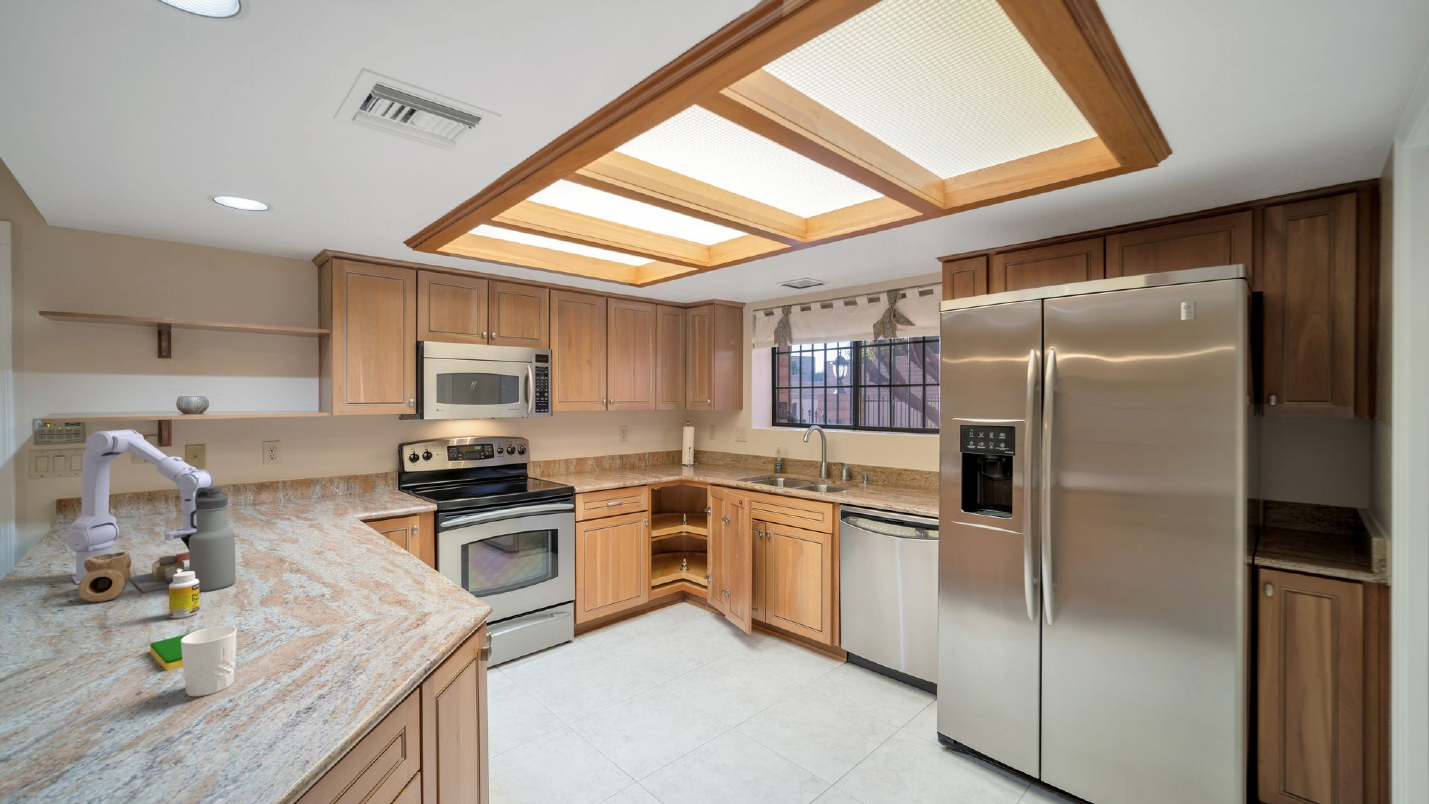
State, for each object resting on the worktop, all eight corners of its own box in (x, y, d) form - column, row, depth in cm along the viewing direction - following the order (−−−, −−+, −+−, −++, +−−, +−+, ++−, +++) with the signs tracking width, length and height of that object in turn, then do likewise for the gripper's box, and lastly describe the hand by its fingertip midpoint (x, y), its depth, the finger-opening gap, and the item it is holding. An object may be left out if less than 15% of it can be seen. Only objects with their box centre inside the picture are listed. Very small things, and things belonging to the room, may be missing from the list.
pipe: (76, 607, 150) (75, 568, 150) (88, 590, 162) (87, 554, 162) (126, 599, 156) (125, 561, 155) (134, 583, 168) (133, 548, 168)
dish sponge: (194, 642, 130) (193, 631, 130) (212, 660, 122) (212, 648, 122) (149, 654, 124) (149, 642, 124) (166, 673, 116) (166, 660, 116)
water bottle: (182, 588, 164) (180, 488, 163) (224, 578, 172) (222, 483, 172) (200, 594, 159) (198, 491, 158) (242, 584, 167) (240, 485, 167)
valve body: (148, 576, 174) (148, 560, 174) (175, 571, 179) (175, 556, 179) (161, 587, 164) (161, 571, 164) (189, 582, 169) (189, 566, 169)
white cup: (204, 678, 113) (203, 626, 113) (247, 676, 114) (246, 625, 114) (170, 699, 106) (168, 644, 105) (217, 697, 106) (215, 642, 106)
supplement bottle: (195, 616, 144) (194, 575, 143) (165, 620, 141) (164, 578, 141) (203, 609, 149) (202, 568, 148) (174, 612, 146) (173, 571, 146)
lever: (160, 565, 170) (160, 558, 170) (158, 562, 172) (157, 556, 172) (213, 555, 179) (213, 549, 179) (210, 553, 181) (210, 548, 181)
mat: (128, 578, 172) (128, 577, 172) (204, 564, 186) (204, 563, 186) (143, 593, 160) (143, 591, 160) (222, 577, 174) (222, 575, 174)
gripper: (176, 519, 165) (177, 567, 165) (232, 508, 179) (232, 553, 179) (159, 517, 167) (160, 564, 167) (215, 507, 181) (216, 551, 181)
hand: (196, 558), depth 173 cm, fingers closed
